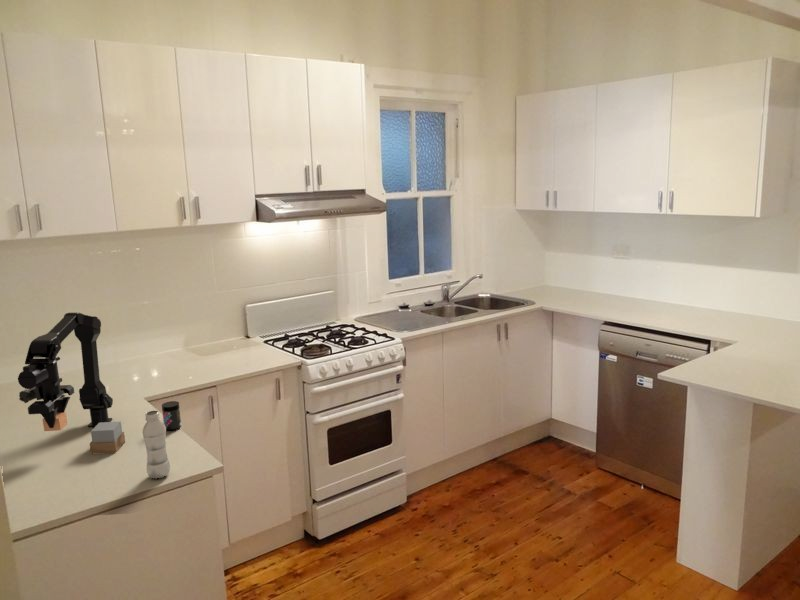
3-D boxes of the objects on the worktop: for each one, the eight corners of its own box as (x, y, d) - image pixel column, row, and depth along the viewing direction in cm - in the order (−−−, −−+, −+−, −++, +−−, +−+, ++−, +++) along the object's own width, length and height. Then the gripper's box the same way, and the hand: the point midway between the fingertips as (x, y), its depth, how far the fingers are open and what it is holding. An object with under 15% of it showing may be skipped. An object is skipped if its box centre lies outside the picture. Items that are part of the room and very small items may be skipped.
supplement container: (164, 426, 225) (161, 402, 223) (181, 424, 227) (179, 400, 225) (163, 432, 220) (160, 408, 218) (181, 430, 221) (178, 405, 219)
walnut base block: (101, 444, 212) (99, 433, 211) (125, 443, 213) (124, 431, 212) (91, 455, 204) (89, 443, 204) (116, 453, 205) (114, 442, 204)
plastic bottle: (142, 479, 186) (134, 416, 182) (158, 469, 193) (151, 407, 188) (160, 483, 184) (152, 418, 180) (175, 472, 190) (168, 409, 186)
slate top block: (100, 433, 211) (99, 422, 210) (122, 432, 211) (120, 421, 211) (92, 442, 204) (90, 431, 203) (114, 441, 205) (113, 430, 204)
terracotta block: (51, 424, 205) (49, 413, 204) (67, 424, 205) (65, 412, 204) (44, 431, 200) (42, 419, 199) (60, 430, 200) (58, 418, 199)
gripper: (36, 369, 208) (43, 414, 211) (6, 389, 189) (14, 438, 193) (71, 368, 208) (78, 412, 212) (44, 387, 190) (51, 436, 193)
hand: (55, 424), depth 202 cm, fingers closed on terracotta block, 5 cm apart
